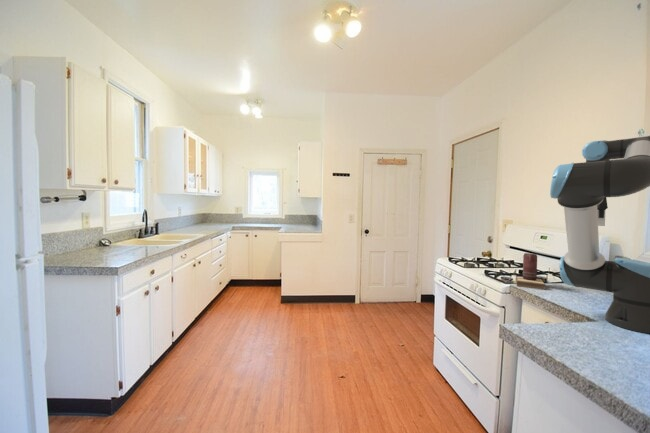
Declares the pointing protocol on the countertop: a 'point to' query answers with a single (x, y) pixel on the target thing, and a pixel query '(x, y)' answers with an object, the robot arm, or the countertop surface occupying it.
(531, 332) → the countertop surface
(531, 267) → the can
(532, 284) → the stand
